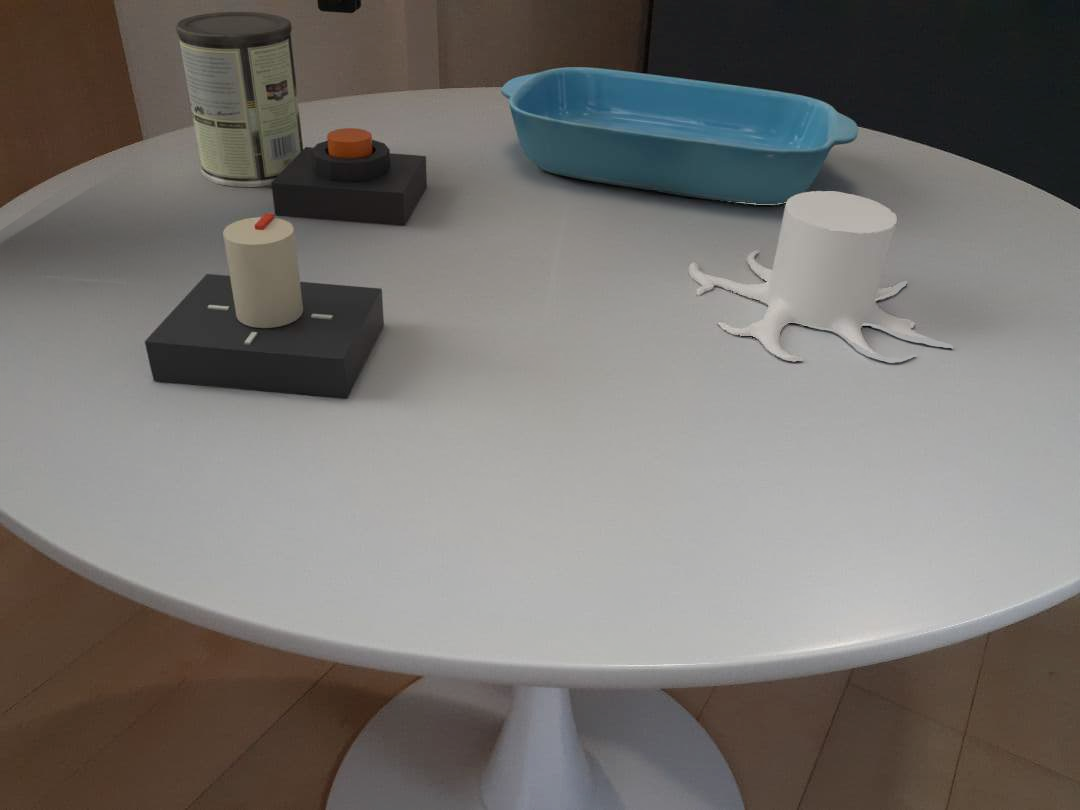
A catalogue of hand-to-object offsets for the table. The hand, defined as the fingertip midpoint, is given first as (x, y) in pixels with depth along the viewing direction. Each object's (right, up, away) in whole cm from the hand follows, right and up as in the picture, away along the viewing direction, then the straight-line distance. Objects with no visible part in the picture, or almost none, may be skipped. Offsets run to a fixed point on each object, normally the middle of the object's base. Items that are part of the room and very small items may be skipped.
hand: (340, 9), depth 78 cm
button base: (-1, -14, +10) cm, 17 cm away
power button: (0, -10, +7) cm, 13 cm away
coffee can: (-12, -10, +15) cm, 22 cm away
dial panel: (-2, -30, -14) cm, 33 cm away
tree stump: (+39, -26, -4) cm, 47 cm away
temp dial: (-1, -27, -15) cm, 31 cm away
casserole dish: (+31, -8, +21) cm, 38 cm away
